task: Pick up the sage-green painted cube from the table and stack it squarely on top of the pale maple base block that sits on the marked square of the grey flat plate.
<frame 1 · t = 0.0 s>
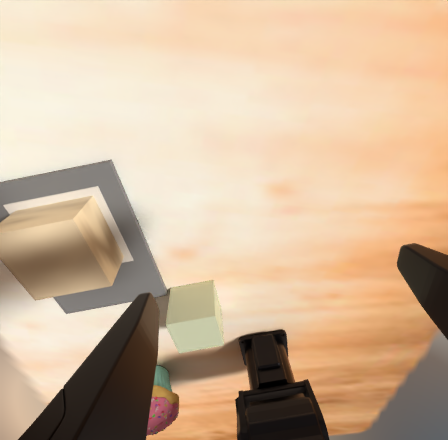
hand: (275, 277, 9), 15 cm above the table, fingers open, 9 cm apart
maple block: (73, 235, 24), point 1 cm above the table, touching grey flat plate
green cube: (196, 297, 30), on the table
cupcake: (153, 372, 38), on the table
grey flat plate: (86, 247, 25), on the table
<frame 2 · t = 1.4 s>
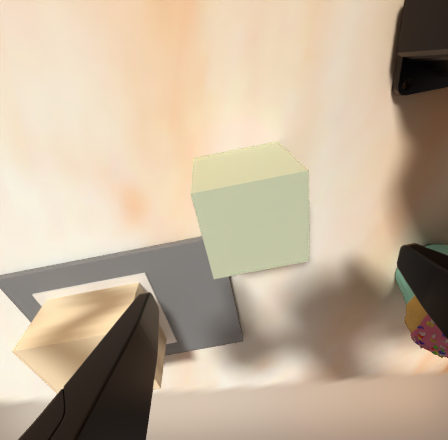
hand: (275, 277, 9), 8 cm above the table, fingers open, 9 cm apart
maple block: (111, 321, 20), point 1 cm above the table, touching grey flat plate
green cube: (241, 187, 16), on the table
cupcake: (422, 263, 21), on the table
grey flat plate: (137, 310, 21), on the table
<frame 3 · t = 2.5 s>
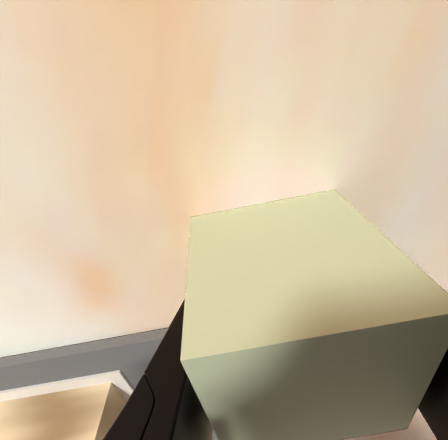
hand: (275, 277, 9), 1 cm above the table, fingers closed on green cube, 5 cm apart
maple block: (76, 423, 14), point 1 cm above the table, touching grey flat plate
green cube: (268, 258, 10), on the table, touching gripper
grey flat plate: (113, 405, 15), on the table
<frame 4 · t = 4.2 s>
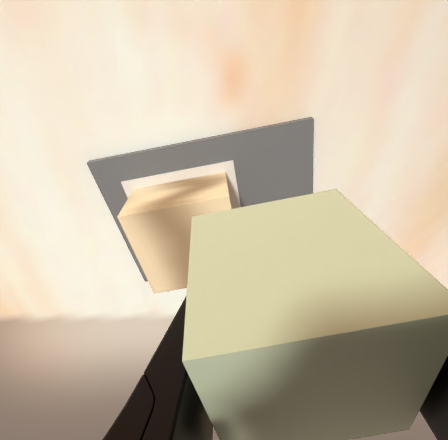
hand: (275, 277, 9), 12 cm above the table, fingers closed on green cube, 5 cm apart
maple block: (190, 219, 21), point 1 cm above the table, touching grey flat plate
green cube: (269, 258, 10), point 11 cm above the table, touching gripper
grey flat plate: (214, 211, 21), on the table
when the fingers open (7 cm above the table, at t = 5.7 s): green cube drops 1 cm, resting on maple block.
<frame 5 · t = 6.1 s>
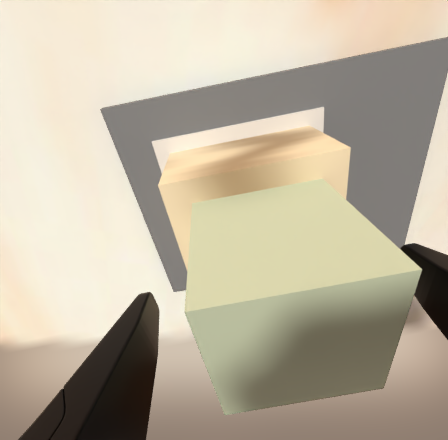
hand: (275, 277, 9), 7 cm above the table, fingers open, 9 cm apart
maple block: (248, 201, 14), point 1 cm above the table, touching grey flat plate, green cube
green cube: (263, 243, 11), point 5 cm above the table, touching maple block
grey flat plate: (280, 190, 15), on the table
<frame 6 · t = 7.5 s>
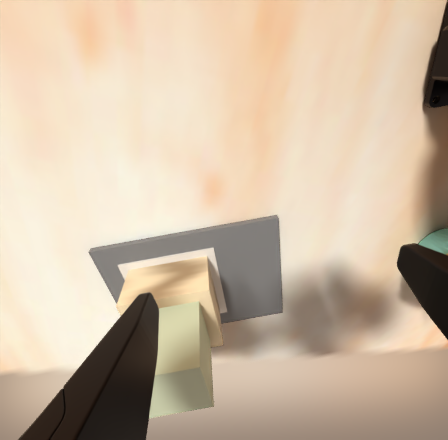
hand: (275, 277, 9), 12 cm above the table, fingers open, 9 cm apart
maple block: (177, 291, 24), point 1 cm above the table, touching grey flat plate, green cube
green cube: (174, 327, 20), point 5 cm above the table, touching maple block
cupcake: (435, 245, 25), on the table
grey flat plate: (198, 282, 24), on the table
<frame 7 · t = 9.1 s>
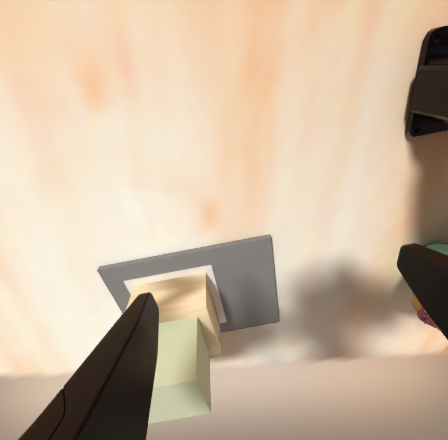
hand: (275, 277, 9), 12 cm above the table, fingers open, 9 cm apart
maple block: (179, 303, 26), point 1 cm above the table, touching grey flat plate, green cube
green cube: (175, 339, 22), point 5 cm above the table, touching maple block
cupcake: (426, 258, 26), on the table
grey flat plate: (198, 295, 26), on the table
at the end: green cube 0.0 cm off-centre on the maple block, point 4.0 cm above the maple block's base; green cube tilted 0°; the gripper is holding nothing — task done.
